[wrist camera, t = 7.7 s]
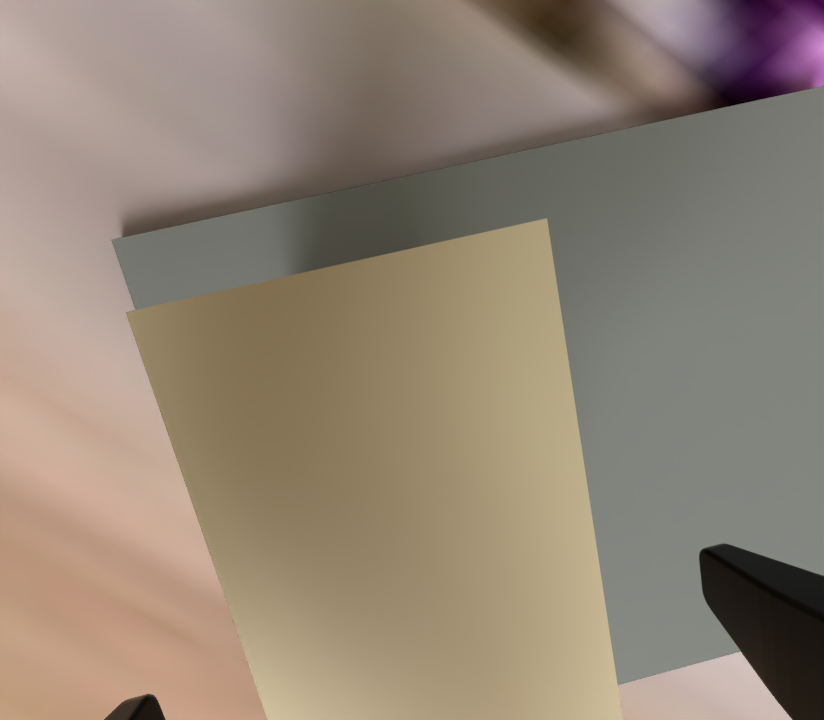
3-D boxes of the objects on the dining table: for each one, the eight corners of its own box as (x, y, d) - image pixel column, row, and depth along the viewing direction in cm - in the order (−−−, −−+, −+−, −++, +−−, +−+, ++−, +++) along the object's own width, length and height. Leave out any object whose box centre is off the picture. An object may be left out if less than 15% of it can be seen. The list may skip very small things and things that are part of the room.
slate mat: (811, 91, 14) (827, 85, 14) (829, 613, 18) (842, 623, 17) (121, 240, 13) (111, 239, 13) (297, 759, 17) (294, 773, 16)
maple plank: (463, 238, 9) (547, 217, 5) (563, 766, 11) (671, 1042, 7) (237, 288, 8) (126, 311, 4) (392, 815, 11) (408, 1124, 7)
